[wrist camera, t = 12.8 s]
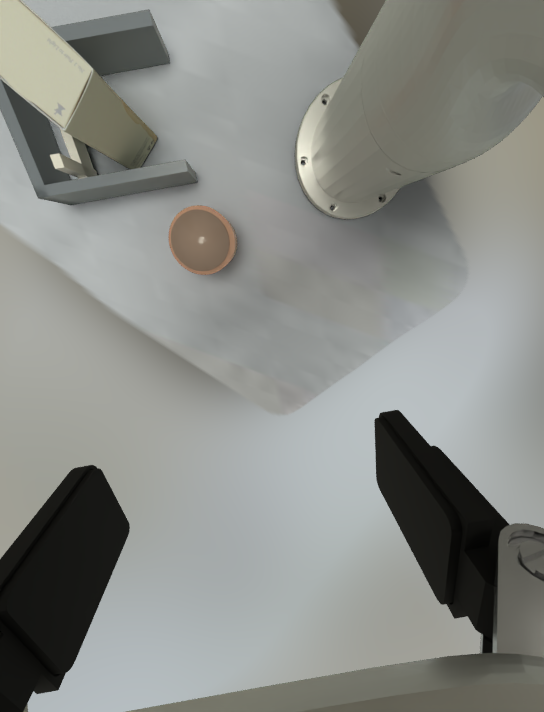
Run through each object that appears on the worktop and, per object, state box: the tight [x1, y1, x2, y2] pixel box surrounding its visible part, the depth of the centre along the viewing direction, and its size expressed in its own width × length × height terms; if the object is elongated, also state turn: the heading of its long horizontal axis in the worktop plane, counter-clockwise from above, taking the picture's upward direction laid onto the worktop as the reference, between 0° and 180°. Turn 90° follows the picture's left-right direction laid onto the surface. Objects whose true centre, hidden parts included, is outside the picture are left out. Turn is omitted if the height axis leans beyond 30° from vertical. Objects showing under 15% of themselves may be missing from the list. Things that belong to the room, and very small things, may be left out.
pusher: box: [50, 128, 97, 179], centre depth 25 cm, size 1×8×6 cm, turn 9°
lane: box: [0, 10, 198, 205], centre depth 26 cm, size 14×11×5 cm
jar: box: [169, 206, 237, 275], centre depth 29 cm, size 6×6×8 cm
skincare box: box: [0, 0, 157, 170], centre depth 23 cm, size 6×4×12 cm
